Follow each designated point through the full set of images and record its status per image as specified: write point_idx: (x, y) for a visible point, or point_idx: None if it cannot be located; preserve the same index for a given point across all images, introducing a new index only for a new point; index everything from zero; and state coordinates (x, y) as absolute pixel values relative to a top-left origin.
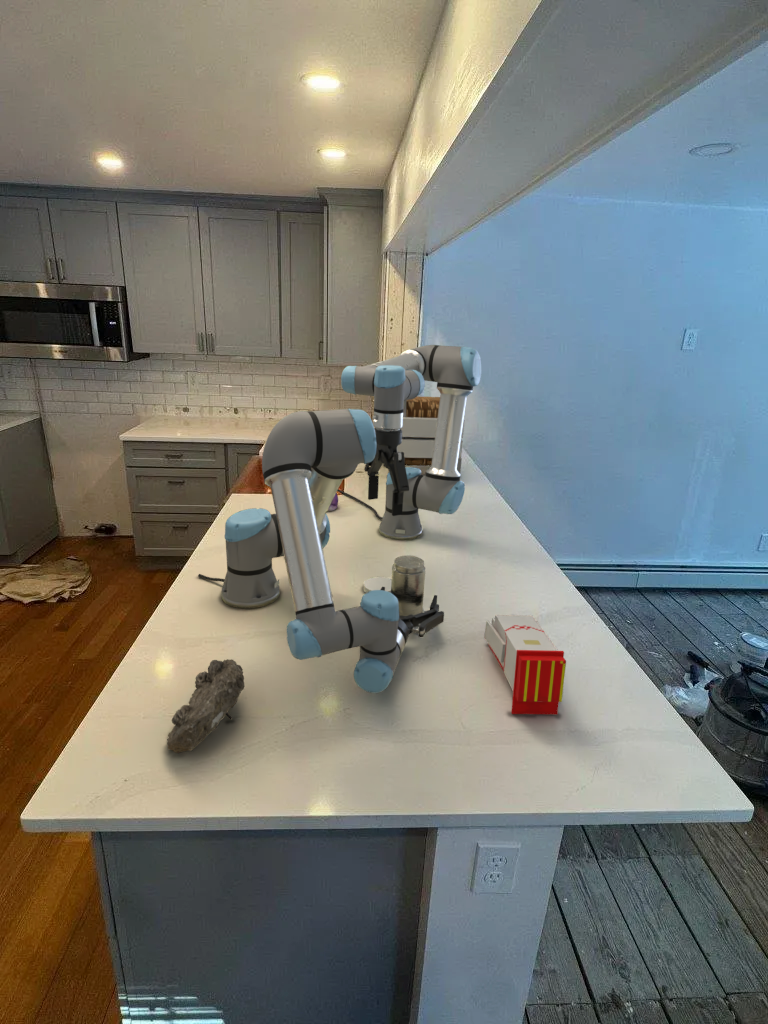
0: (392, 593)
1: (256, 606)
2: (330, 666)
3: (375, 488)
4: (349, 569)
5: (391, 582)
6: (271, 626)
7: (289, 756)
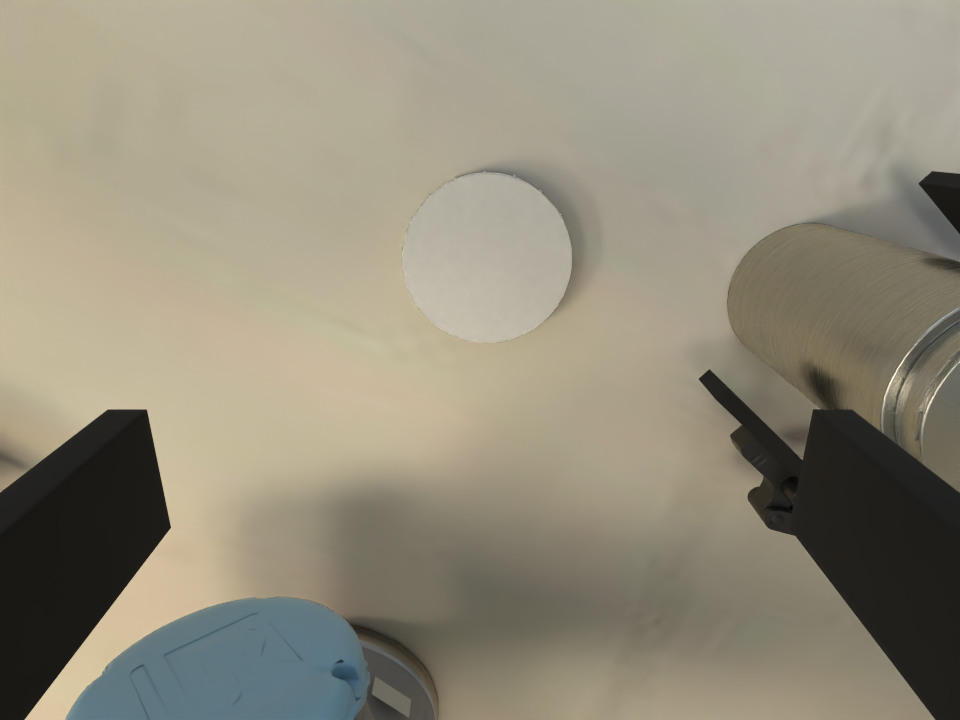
0: None
1: (437, 715)
2: None
3: (57, 545)
4: (226, 296)
5: None
6: (569, 701)
7: None
